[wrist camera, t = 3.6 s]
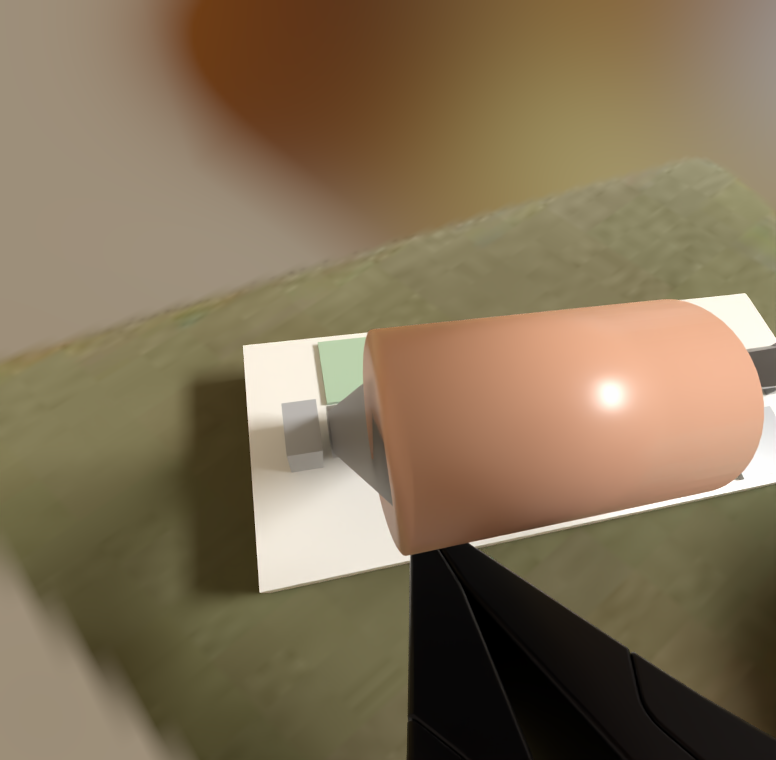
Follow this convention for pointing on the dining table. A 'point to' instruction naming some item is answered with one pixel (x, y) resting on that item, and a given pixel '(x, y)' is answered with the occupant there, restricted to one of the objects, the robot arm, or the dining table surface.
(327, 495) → the switch unit
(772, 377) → the grey lever
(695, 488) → the terracotta lever
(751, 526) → the dining table surface
